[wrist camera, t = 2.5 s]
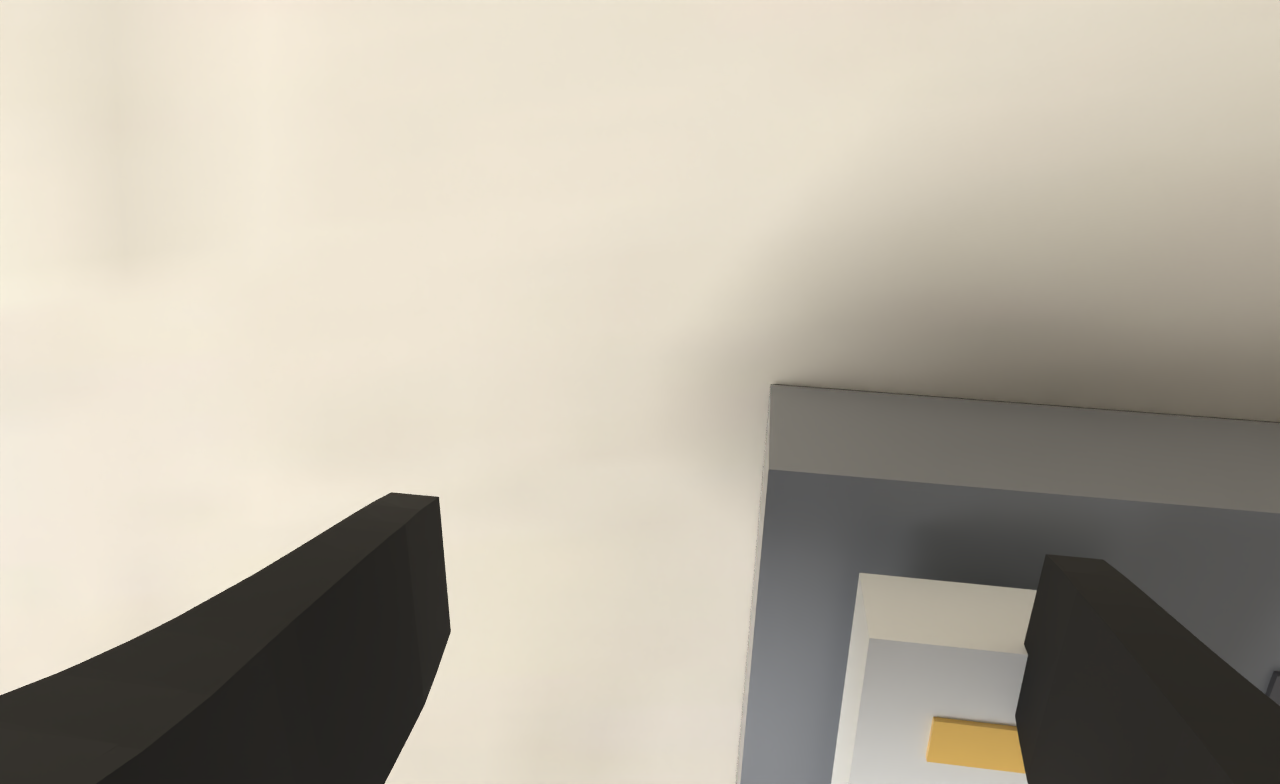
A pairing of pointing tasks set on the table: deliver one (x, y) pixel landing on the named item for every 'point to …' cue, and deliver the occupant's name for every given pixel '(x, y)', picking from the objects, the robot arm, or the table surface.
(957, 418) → the grey flat tray
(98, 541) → the table surface
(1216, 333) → the table surface
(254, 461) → the table surface
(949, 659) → the rocker
